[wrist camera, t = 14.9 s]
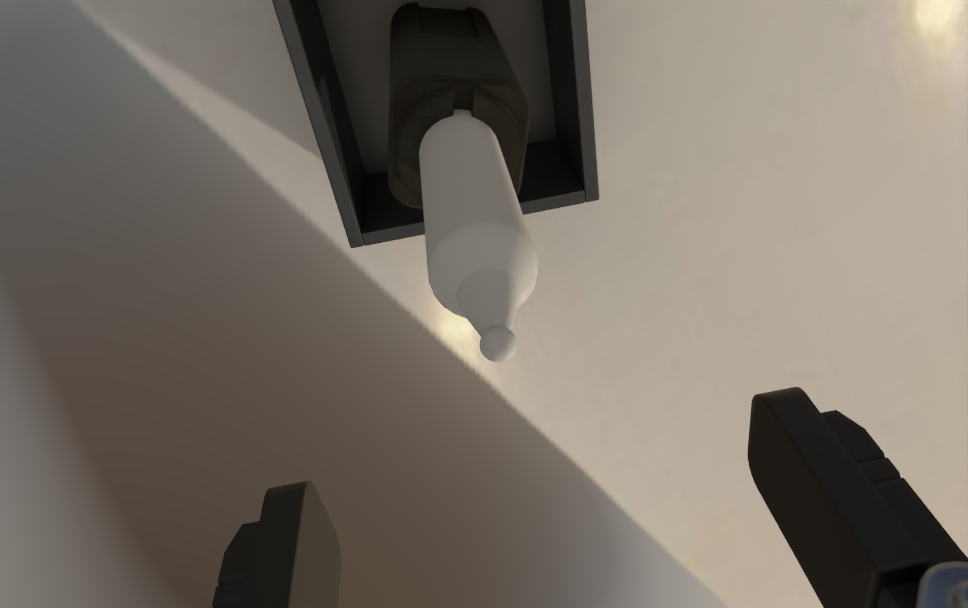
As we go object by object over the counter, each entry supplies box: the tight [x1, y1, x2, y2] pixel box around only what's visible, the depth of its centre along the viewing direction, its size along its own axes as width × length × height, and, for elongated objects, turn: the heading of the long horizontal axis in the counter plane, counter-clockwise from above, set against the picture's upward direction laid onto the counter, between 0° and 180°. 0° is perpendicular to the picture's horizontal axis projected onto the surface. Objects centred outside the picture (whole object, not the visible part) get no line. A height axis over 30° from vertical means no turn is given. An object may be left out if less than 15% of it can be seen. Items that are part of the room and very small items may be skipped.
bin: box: [272, 0, 599, 248], centre depth 33 cm, size 12×12×8 cm
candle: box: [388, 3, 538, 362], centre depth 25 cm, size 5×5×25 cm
